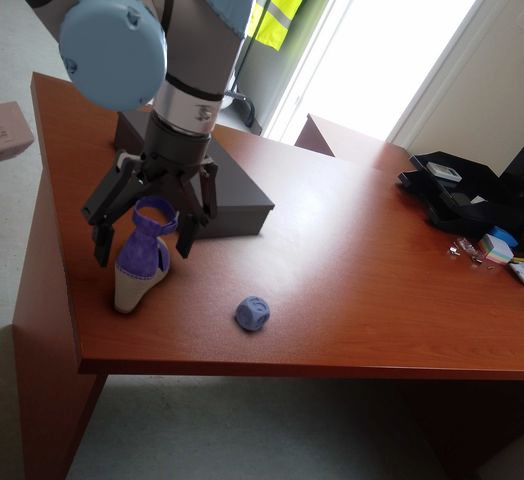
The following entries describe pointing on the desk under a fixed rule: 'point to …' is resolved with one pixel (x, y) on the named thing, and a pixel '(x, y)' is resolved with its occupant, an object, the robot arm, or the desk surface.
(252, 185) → the shoebox
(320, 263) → the desk surface
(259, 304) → the decorative dice
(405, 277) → the desk surface
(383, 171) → the desk surface
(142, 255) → the sandal
